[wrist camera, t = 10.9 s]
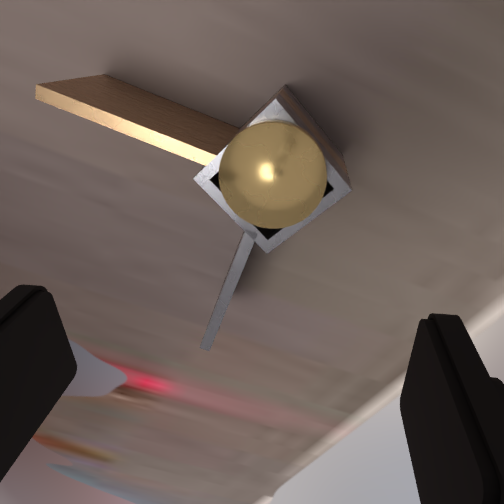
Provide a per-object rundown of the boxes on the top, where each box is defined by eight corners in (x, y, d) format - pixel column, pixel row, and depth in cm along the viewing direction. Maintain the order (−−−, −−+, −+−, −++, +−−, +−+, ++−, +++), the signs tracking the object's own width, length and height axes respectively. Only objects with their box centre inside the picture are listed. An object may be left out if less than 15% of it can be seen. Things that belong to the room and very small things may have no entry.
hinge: (186, -37, 24) (135, -69, 17) (370, 189, 29) (388, 233, 23) (58, 136, 31) (-16, 163, 24) (226, 294, 36) (206, 353, 29)
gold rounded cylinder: (285, 82, 26) (274, 97, 19) (340, 146, 28) (350, 183, 20) (226, 142, 29) (196, 175, 21) (279, 197, 30) (269, 247, 23)
